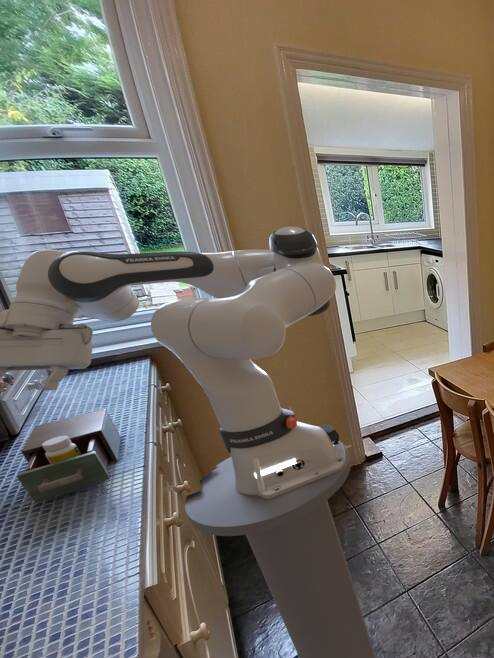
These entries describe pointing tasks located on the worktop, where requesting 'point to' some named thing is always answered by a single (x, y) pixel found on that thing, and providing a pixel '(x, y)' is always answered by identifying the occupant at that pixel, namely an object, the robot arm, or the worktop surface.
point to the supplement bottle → (60, 449)
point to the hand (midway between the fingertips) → (22, 390)
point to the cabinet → (77, 432)
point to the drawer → (66, 470)
